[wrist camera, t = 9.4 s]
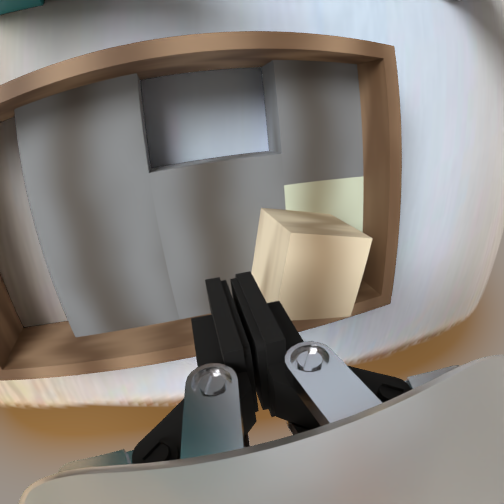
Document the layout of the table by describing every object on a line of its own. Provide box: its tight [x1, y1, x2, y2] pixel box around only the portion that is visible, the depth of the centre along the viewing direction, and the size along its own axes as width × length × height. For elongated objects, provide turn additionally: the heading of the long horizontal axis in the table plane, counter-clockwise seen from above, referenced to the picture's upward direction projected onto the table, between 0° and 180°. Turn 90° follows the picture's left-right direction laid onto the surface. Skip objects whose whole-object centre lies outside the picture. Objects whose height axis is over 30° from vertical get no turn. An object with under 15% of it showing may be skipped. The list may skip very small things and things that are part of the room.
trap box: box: [0, 31, 402, 380], centre depth 17 cm, size 30×18×6 cm, turn 96°
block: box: [251, 208, 373, 321], centre depth 19 cm, size 5×5×5 cm
